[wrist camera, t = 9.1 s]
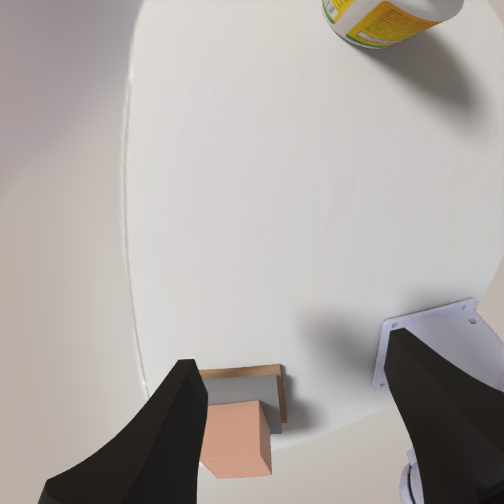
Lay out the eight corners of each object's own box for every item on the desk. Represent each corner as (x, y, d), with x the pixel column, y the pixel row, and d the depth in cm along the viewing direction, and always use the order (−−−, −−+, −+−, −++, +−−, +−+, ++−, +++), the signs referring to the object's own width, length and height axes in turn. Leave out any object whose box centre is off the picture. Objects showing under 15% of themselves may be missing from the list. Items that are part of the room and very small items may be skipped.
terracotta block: (258, 400, 20) (259, 454, 16) (269, 427, 22) (271, 475, 18) (203, 406, 21) (196, 457, 16) (220, 432, 23) (217, 478, 18)
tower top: (276, 374, 21) (277, 388, 20) (280, 420, 24) (281, 433, 23) (189, 378, 22) (186, 391, 20) (208, 423, 24) (206, 435, 23)
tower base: (279, 356, 22) (280, 369, 21) (286, 410, 25) (286, 422, 24) (184, 363, 23) (180, 375, 22) (207, 415, 26) (205, 427, 25)
